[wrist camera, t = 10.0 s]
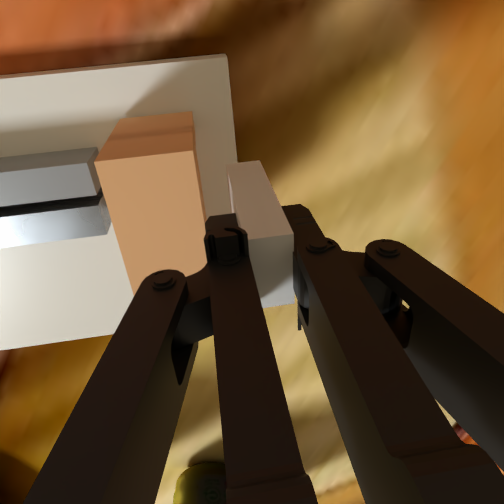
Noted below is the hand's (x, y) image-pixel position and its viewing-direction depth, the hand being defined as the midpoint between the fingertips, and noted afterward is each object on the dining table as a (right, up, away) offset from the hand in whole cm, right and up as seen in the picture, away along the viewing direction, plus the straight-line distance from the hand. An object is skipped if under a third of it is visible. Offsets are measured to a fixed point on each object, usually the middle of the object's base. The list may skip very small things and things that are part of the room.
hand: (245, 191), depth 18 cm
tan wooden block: (-4, +1, +4) cm, 5 cm away
